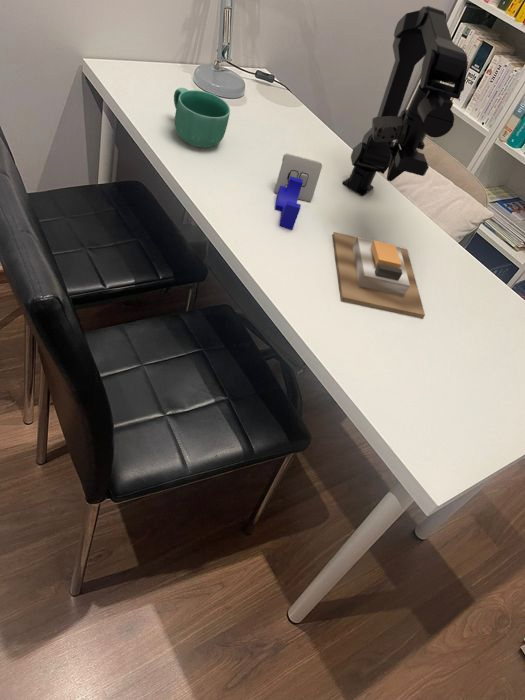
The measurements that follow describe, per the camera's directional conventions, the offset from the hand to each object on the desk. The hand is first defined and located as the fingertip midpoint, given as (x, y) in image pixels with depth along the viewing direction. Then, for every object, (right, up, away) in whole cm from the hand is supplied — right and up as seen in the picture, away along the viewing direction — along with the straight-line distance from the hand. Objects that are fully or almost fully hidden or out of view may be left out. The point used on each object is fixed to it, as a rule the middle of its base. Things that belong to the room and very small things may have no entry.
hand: (388, 180), depth 127 cm
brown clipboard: (-3, -21, -3) cm, 22 cm away
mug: (-45, +16, +16) cm, 51 cm away
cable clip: (-23, -6, +4) cm, 24 cm away
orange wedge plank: (-2, -18, -6) cm, 19 cm away
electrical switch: (-21, 0, +11) cm, 24 cm away
